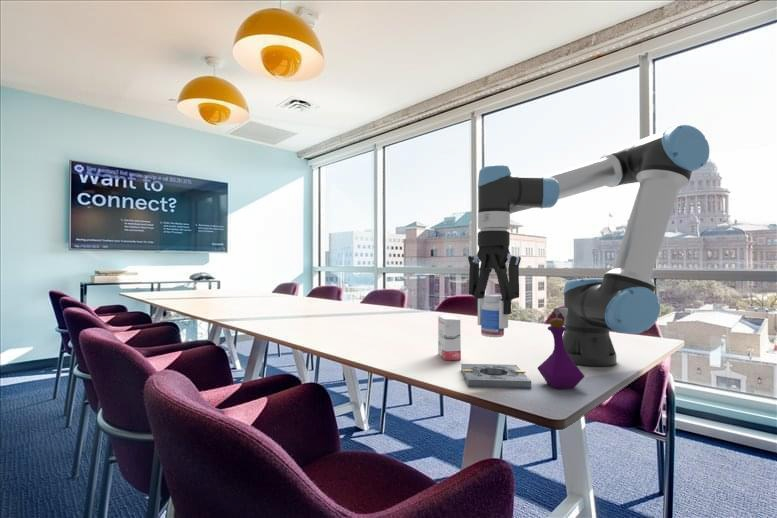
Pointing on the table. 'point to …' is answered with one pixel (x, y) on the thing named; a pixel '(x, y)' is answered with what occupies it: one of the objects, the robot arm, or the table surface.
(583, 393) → the table surface
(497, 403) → the table surface
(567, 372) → the perfume bottle
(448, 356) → the ink box
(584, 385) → the table surface
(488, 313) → the pill bottle
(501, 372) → the socket plate
